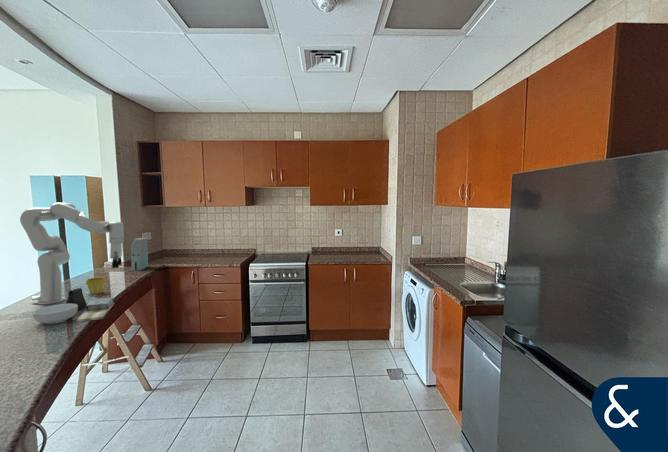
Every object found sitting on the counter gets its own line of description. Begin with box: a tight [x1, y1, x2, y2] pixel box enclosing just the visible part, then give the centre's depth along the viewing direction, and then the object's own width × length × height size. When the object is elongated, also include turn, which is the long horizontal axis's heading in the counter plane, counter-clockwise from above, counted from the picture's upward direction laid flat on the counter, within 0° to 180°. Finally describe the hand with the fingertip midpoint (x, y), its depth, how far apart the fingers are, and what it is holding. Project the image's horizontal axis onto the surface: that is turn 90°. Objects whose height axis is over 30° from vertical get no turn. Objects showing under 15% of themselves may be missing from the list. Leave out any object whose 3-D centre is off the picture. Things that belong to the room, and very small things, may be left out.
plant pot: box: [85, 277, 106, 295], centre depth 200 cm, size 10×10×10 cm
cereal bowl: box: [32, 303, 78, 325], centre depth 150 cm, size 17×17×7 cm
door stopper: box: [65, 287, 88, 312], centre depth 167 cm, size 9×6×12 cm, turn 93°
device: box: [130, 237, 149, 271], centre depth 279 cm, size 16×8×30 cm, turn 12°
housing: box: [85, 297, 114, 311], centre depth 169 cm, size 10×12×3 cm
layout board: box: [76, 301, 115, 323], centre depth 164 cm, size 11×26×1 cm, turn 27°
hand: (117, 266), depth 186 cm, fingers open, 9 cm apart
